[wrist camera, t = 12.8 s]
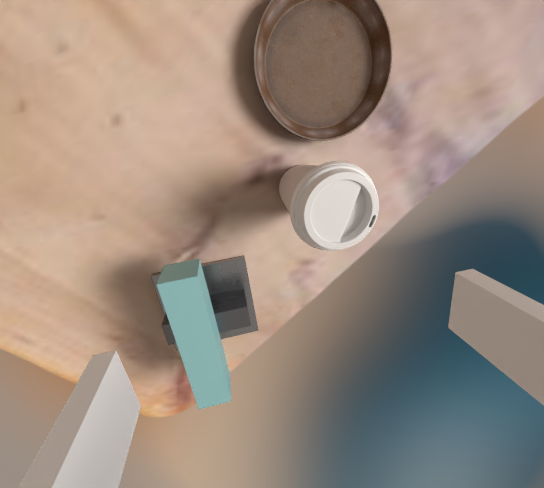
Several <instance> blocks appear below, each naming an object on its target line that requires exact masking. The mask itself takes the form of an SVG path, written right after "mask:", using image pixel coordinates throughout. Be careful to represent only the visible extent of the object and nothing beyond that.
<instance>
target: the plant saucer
mask: <svg viewBox="0 0 544 488" xmlns="http://www.w3.org/2000/svg"><path fill="white" fill-rule="evenodd" d="M391 67H392V42H391V35H390V30H389V26H388V23H387V20H386V17H385V15H384V12H383V10H382V8H381V7H380V5H379V3H378V1H377V0H271V1H270V3H269V4H268V6H267V8H266V9H265V11H264V13H263V15H262V18H261V20H260V23H259V26H258V29H257V33H256V38H255V44H254V71H255V77H256V82H257V85H258V89H259V92H260V94H261V97H262V99H263V101H264V103H265V105H266V106H267V108H268V110H269V111H270V113H271V114H272V115H273V117H274V118H275V119H276V120H277V121H278V122H279V123H280V124H281V125H282V126H283V127H284V128H286V129H287V130H289V131H290V132H292V133H293V134H295V135H297V136H300V137H302V138H305V139H310V140H317V141H326V140H333V139H337V138H340V137H343V136H345V135H347V134H349V133H351V132H353V131H354V130H356V129H357V128H359V127H360V126H361V125H362V124H363V123H365V122H366V121H367V120H368V118H369V117H370V116H371V115H372V114H373V113H374V111H375V110H376V108H377V107H378V105H379V104H380V102H381V100H382V98H383V96H384V93H385V91H386V88H387V85H388V82H389V78H390V73H391Z"/></svg>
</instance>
